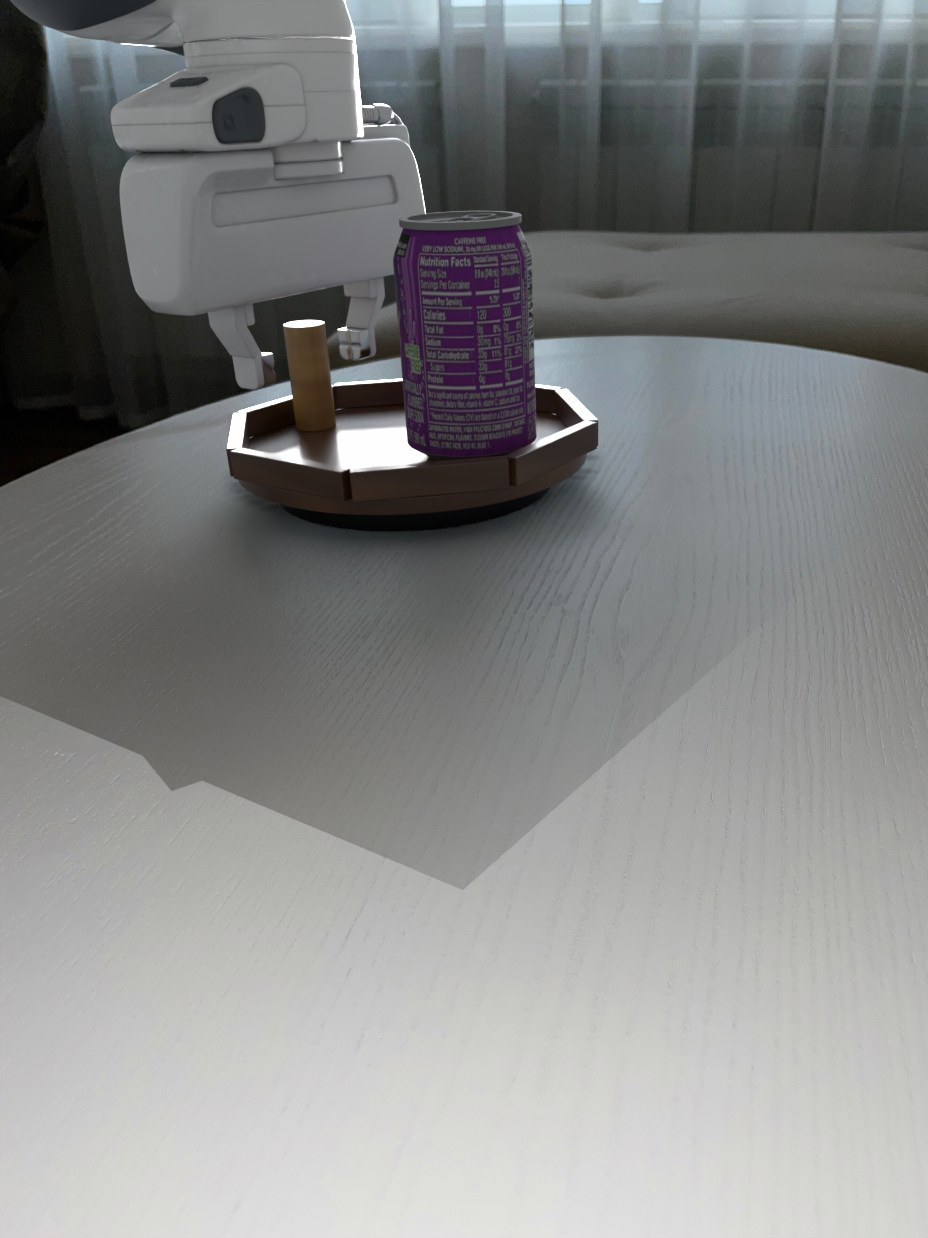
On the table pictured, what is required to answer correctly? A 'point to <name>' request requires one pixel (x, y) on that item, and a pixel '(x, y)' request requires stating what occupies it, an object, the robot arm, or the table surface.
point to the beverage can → (466, 333)
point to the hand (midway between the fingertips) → (310, 371)
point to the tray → (385, 445)
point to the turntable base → (416, 517)
